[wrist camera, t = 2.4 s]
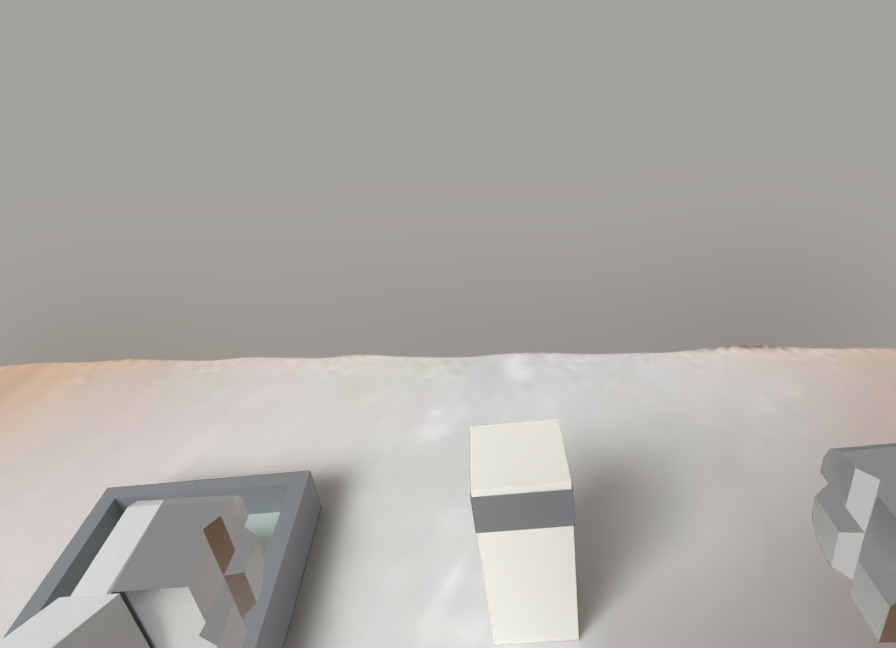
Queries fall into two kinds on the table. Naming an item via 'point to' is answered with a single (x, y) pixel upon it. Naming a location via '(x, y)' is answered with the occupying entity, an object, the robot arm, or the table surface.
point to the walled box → (270, 518)
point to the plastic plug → (525, 530)
